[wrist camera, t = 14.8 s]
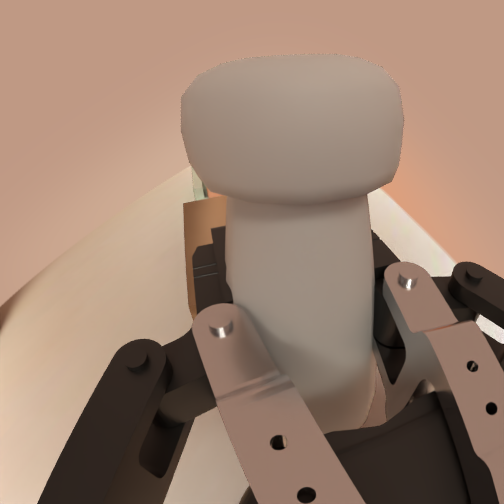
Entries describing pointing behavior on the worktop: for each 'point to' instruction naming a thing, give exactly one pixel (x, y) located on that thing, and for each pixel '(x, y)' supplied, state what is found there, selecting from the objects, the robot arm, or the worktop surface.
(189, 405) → the robot arm
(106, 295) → the worktop surface
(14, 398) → the worktop surface
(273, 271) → the salt shaker
